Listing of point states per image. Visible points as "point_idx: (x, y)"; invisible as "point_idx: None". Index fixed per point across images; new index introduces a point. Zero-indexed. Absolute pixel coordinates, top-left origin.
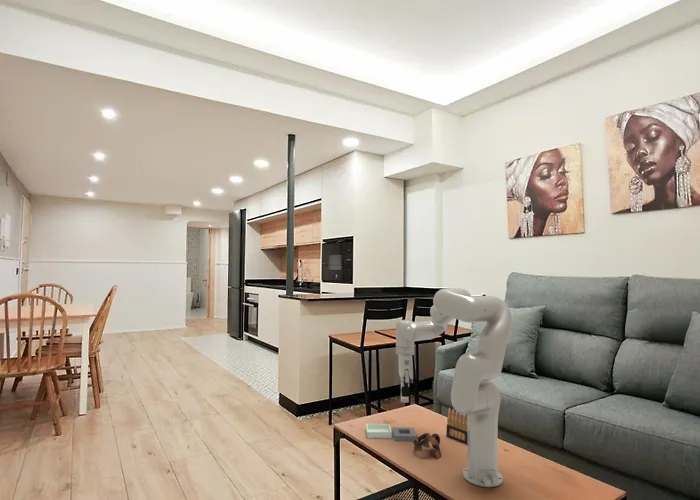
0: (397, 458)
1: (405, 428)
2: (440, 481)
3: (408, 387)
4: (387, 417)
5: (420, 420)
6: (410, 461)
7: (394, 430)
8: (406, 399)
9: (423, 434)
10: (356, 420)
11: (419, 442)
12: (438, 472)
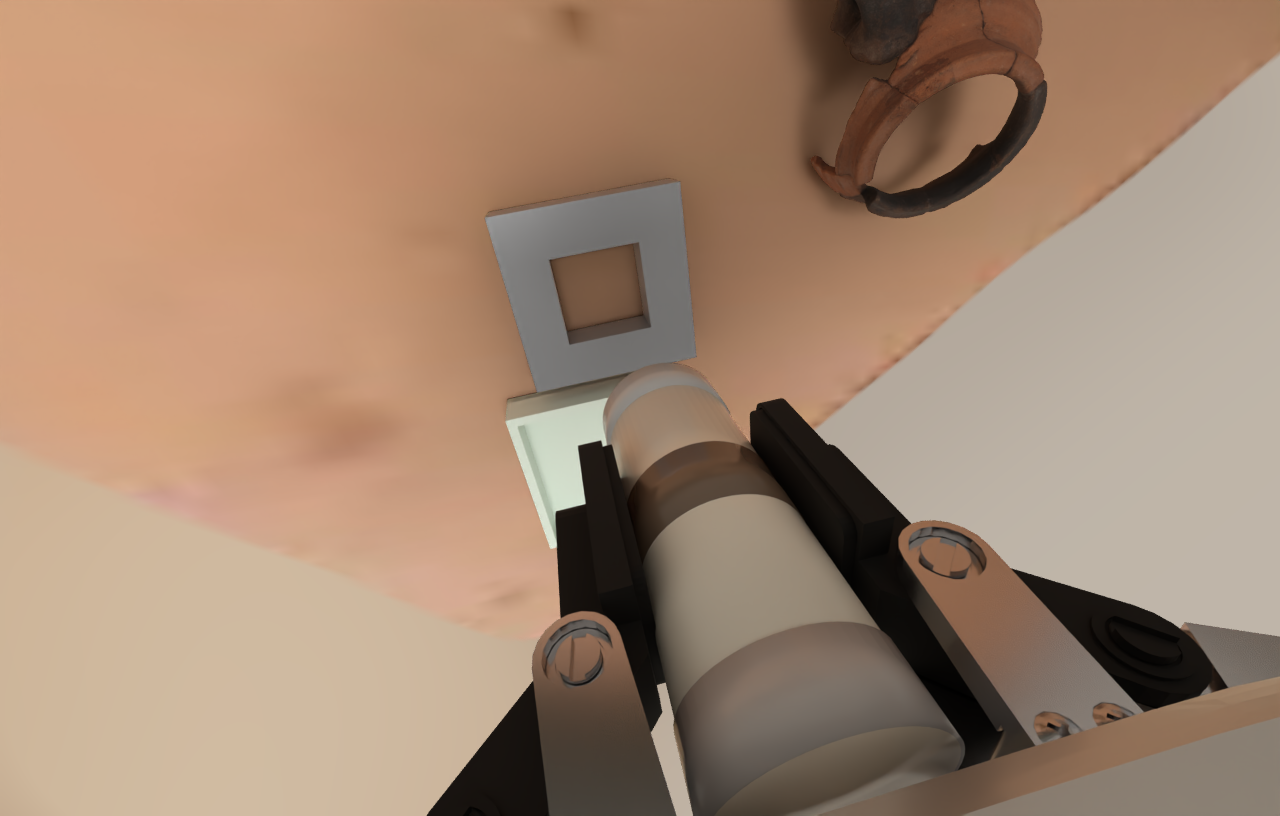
0: (920, 301)
1: (533, 291)
2: (1229, 21)
3: (880, 524)
4: (229, 451)
5: (90, 134)
6: (966, 221)
7: (599, 369)
8: (728, 412)
9: (901, 121)
10: (414, 598)
11: (1005, 165)
12: (1136, 22)
